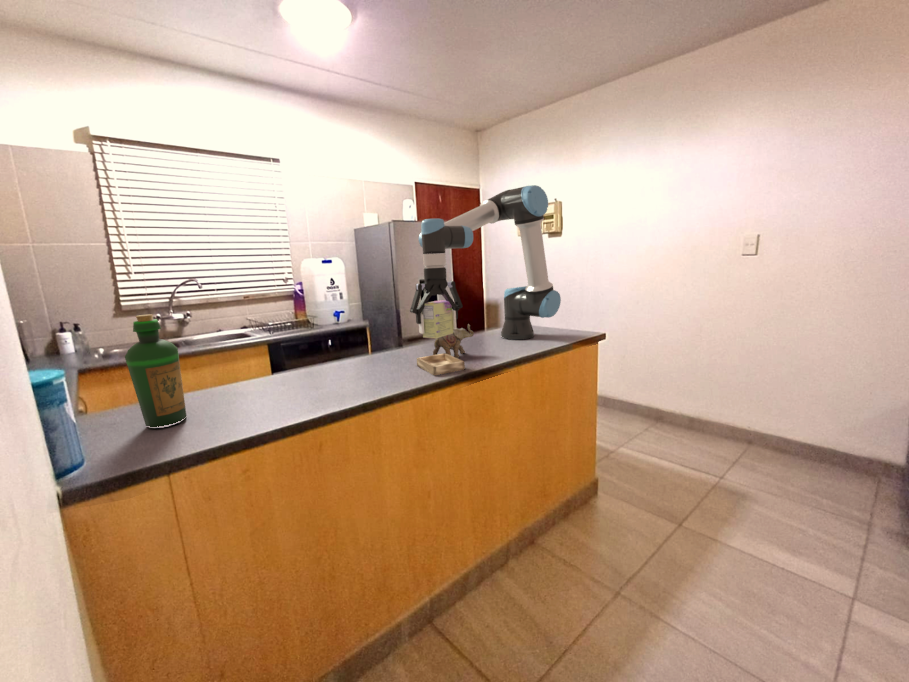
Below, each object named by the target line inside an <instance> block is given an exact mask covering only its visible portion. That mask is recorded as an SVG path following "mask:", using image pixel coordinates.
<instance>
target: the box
mask: <svg viewBox="0 0 909 682" xmlns="http://www.w3.org/2000/svg"><path fill="white" fill-rule="evenodd" d="M452 310H453V309H452V305H451V304H450V302H449V301H446V300H445V299H444V300H443V299H442V300H440V299H439V300H434V301H428V302H427V303H425V307H424V309H423V311H422V313H421V314H423V316H424V333H425V334H422V338H424V339H434V340H436V339H437V338H439V337H442V336H446V335H450V334H453V317H452Z"/></svg>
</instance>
